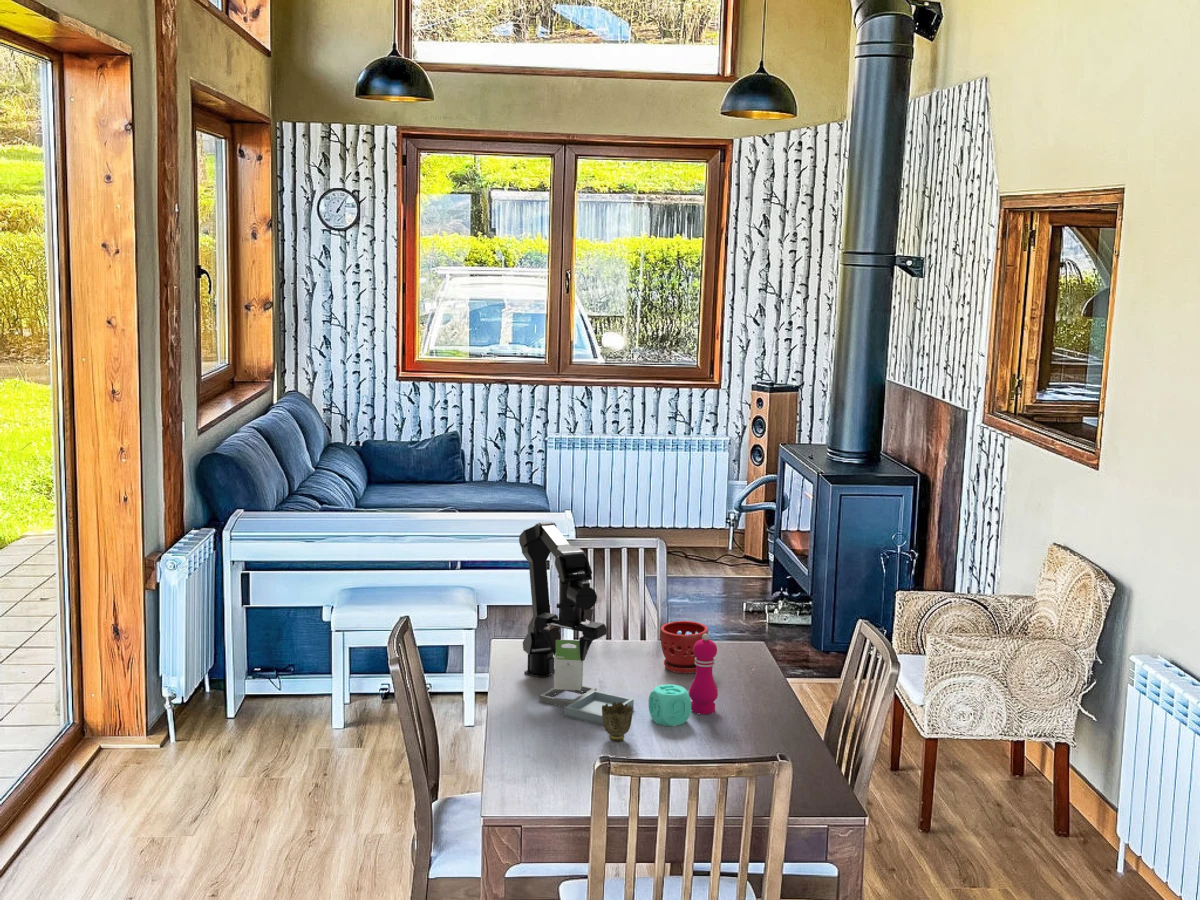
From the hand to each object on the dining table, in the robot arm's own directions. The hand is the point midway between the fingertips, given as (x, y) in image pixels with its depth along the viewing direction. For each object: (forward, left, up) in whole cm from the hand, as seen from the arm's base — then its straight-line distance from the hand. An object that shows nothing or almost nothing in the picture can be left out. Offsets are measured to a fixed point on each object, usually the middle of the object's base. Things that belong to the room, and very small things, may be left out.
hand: (569, 658), depth 327 cm
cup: (+24, -18, -11) cm, 32 cm away
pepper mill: (+33, +11, -11) cm, 36 cm away
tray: (+12, -5, -11) cm, 17 cm away
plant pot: (+15, +37, -11) cm, 41 cm away
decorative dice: (+29, 0, -11) cm, 31 cm away
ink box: (0, 0, -8) cm, 8 cm away
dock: (0, 0, -11) cm, 11 cm away
